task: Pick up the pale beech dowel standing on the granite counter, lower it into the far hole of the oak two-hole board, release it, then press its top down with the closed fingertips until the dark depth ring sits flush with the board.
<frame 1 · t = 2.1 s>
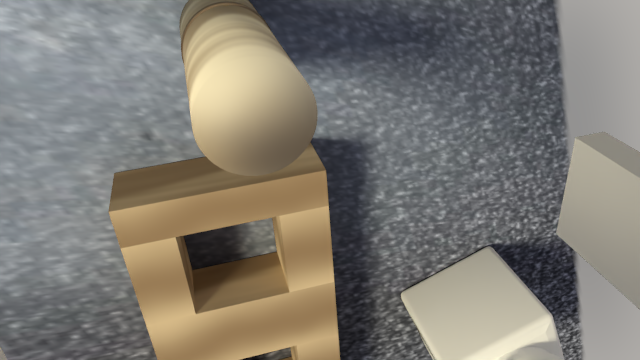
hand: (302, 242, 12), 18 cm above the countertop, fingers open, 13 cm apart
peg: (220, 28, 27), on the countertop
container: (455, 297, 42), on the countertop
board: (240, 287, 35), on the countertop
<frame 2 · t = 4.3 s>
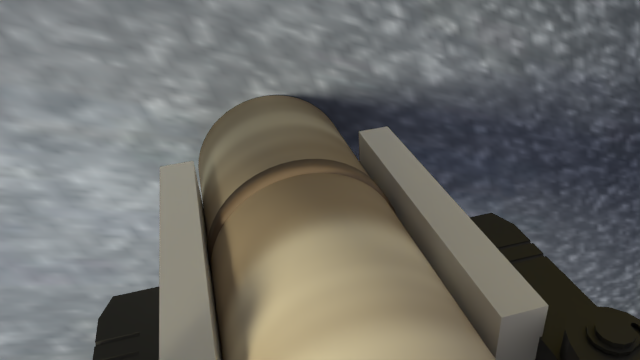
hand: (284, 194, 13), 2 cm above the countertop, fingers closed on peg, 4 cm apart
peg: (272, 164, 15), on the countertop, touching gripper
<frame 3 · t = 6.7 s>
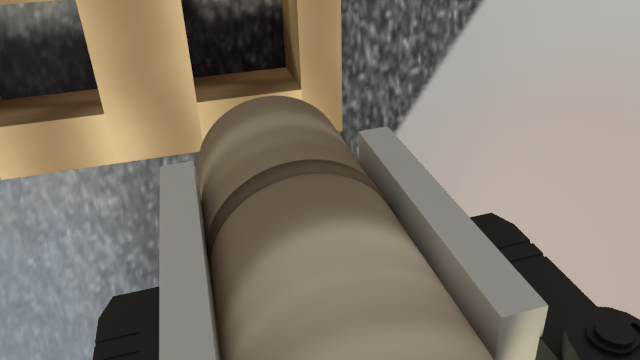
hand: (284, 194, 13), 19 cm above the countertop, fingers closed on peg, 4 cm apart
peg: (271, 164, 15), point 17 cm above the countertop, touching gripper
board: (142, 33, 29), on the countertop
when the fingers open (5 cm above the countertop, at t = 9.1 s): peg drops 3 cm, resting in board.
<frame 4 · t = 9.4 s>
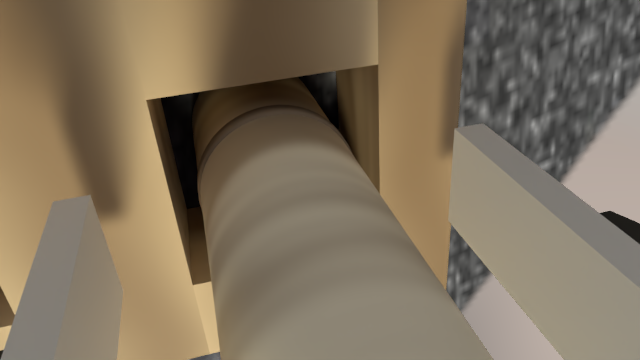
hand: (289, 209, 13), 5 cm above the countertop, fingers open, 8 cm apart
peg: (255, 122, 17), resting in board
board: (94, 149, 16), on the countertop
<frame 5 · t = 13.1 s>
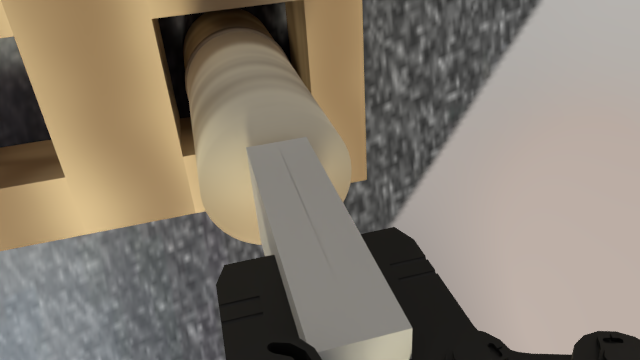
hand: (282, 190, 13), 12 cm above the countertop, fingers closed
peg: (228, 52, 24), resting in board
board: (114, 68, 23), on the countertop
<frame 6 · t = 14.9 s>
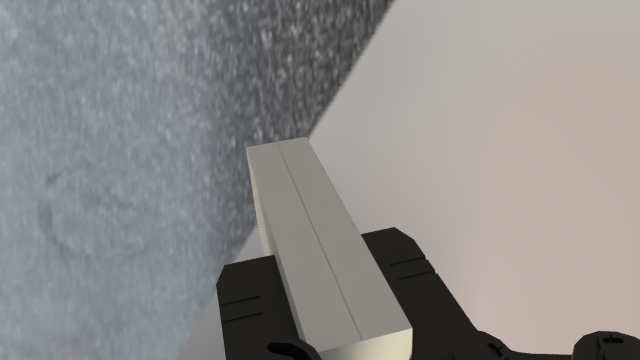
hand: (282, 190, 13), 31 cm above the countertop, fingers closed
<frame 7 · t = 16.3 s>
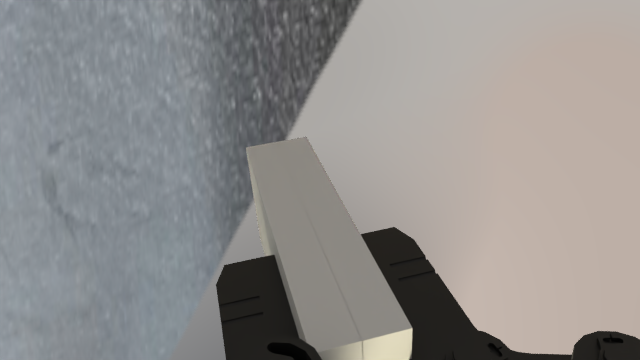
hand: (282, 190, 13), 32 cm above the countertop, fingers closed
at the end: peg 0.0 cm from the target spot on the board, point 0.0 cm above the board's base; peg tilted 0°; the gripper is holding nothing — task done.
